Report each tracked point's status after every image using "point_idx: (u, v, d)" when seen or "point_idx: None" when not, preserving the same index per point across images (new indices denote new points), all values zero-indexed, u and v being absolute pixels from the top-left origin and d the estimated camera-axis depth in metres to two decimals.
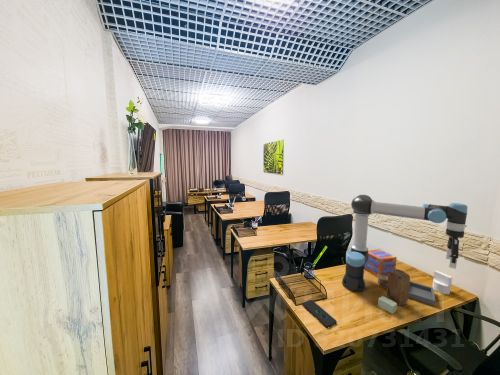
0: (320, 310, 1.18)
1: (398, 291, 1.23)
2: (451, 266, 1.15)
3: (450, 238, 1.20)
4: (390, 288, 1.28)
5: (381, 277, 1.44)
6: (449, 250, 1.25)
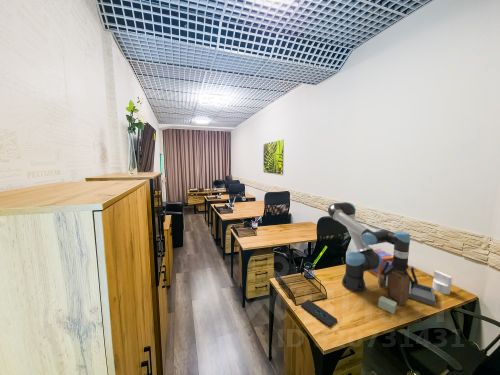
0: (319, 309, 1.18)
1: (398, 291, 1.23)
2: None
3: None
4: (390, 288, 1.28)
5: (381, 277, 1.44)
6: None
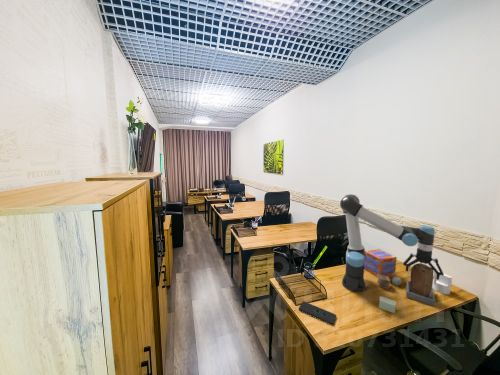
0: (317, 309, 1.19)
1: (422, 284, 1.29)
2: (407, 274, 1.38)
3: None
4: (413, 281, 1.34)
5: (381, 277, 1.44)
6: (435, 274, 1.28)
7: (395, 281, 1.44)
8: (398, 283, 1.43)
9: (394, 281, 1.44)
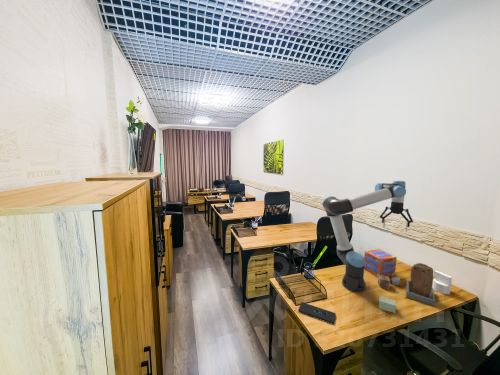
0: (316, 309, 1.19)
1: (422, 284, 1.29)
2: None
3: None
4: (413, 281, 1.34)
5: (381, 277, 1.44)
6: (406, 223, 1.46)
7: (399, 281, 1.44)
8: None
9: (399, 281, 1.44)
